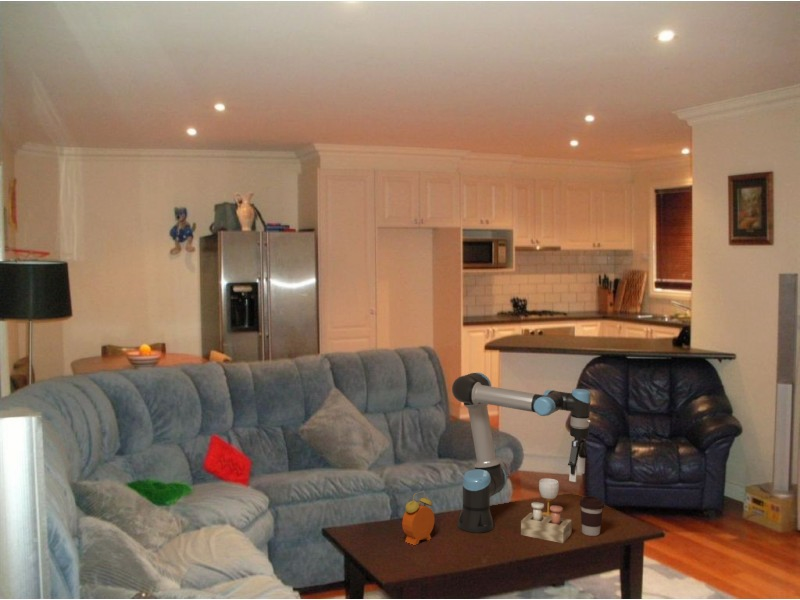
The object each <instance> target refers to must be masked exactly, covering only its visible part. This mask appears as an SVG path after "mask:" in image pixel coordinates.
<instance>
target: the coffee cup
mask: <svg viewBox="0 0 800 600" xmlns="http://www.w3.org/2000/svg"><path fill="white" fill-rule="evenodd" d="M579 506H580V522H581V523H580V524H581V533H582V534H584V535H586V536H587V537H589V536H590V537H596V536H599V535H600V533H601V525H602V519H603V508H604V507H605V503H604V501H602V500H601V498H599V497H597V496H592V495H587V496H583V498H582V499H580V500H579Z"/></svg>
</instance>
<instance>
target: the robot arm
mask: <svg viewBox="0 0 800 600" xmlns="http://www.w3.org/2000/svg"><path fill="white" fill-rule="evenodd" d="M451 391H452V395H453V397H454V398H455V399H456V400H457V401H459V402H460V403H463V406H464V407H466V408H467V410H468V415H469V417H468V418H469V421H470V422H469V423H470V426H471V427H470V428H471V434H472V435H471V436H472V441H473V444H474V445H473V446H474V452H475V457H476V462H475V464H474V467H473V468H474V469H470V470H468V471H466V472H465V473H463V477H462V506H461V507H462V509H461V511H460V515H459V517H458V520H457V525H458V526H457V527H458V528H459V529H460V530H462V531H465V532H469V533H476V534H477V533H478V534H479V533H481V534H482V533H487V532H490V531H492V530H493V529H494V520H493V515H492V513H491V510H490V509H491V506H490V505H491V504H490V503H491V497H493V496H495V495H496V494H498V493H500V492H501V491H502V490H503V489H504V488H505V487H506V484H507V481H508V480H507V479H508V478H507V477H508V476H507V472H506V471H505V469H504V468H503V467H502V465H501V461H499V460H498V459H497V457H496V456H497V455H496V449H495V445H494V440H493V438H494V437H493V433H492V428H491V427H492V426H491V421H490V415H489V411H488V405H491V406H497V407H502V408H508V409H512V410H513V409H514V410H520V411H525V412H526V411H527V412H530V413H536V414H537V416H541V417H546V416H547V417H548V416H550V415H552V414H554V413H555V412H557V411H559V410H560V411H565V412H566V411H567V412H570V422H569V423H570V427H569V428H570V430H569V435H570V436H571V437H573V438H574V440H572V441H571V448H570V452H569V453H570V454H569V459H568V463H567V466H569V476H568V477H569V479H568V481H569V482H573V483H577V474H585V469H586V459H588V455H587V454H588V452H587V438H589V436H590V435H589V433H590V429H589V427H590V423H591V422H592V420H590V417H591V415H590V412H591V403H592V401H591V392H590V391H589V390H588V389H585V388H573V389H572V392H565V391H560V390H559V391H557V390H548V389H547V390H545V391H544V393H543V394H537V393H533V392H528V391H527V392H526V391H520V390H514V389H508V388H504V387H503V388H502V387H498V386H492V382H491V380H490V379H489V377H488V376H486V375H485V374H484V373H482V372H471V373H468V374H464V375H461V376H459V377H457V378H455V380H454V382H453V383H452V385H451Z"/></svg>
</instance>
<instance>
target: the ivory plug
mask: <svg viewBox="0 0 800 600" xmlns="http://www.w3.org/2000/svg"><path fill="white" fill-rule="evenodd" d="M530 504H531V508H532V513H533V520H536V521H542V512H543V511H542V510H543V509H544V508H545V504H544V503H543V502H538V501H533V502H531V503H530Z"/></svg>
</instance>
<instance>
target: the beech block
mask: <svg viewBox="0 0 800 600" xmlns="http://www.w3.org/2000/svg"><path fill="white" fill-rule="evenodd" d="M551 519H552V516H548V515H542V521H536V520H533V512H529V513H528V514H527V515H526V516H525V517H523V518H522V519H521V520H520V536H526V537H530V538H534V539H535V538H536V539H539V540H540V539H541V540H545V541H551V542H556V543H559V544H564V543H565V542H566V541H567V540H568V538H569V537H570V536H571V535H572V523H573V522H572V519H570V518H564V517H560V525H557V524H552V523H551Z"/></svg>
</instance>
